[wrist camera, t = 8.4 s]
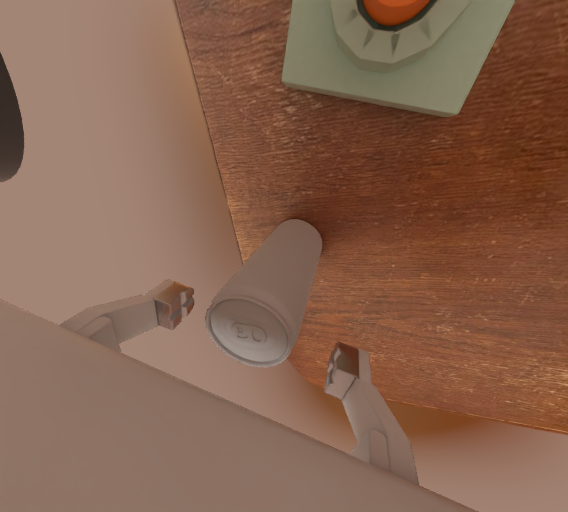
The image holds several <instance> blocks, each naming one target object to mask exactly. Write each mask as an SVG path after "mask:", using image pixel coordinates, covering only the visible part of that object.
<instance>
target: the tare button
mask: <svg viewBox="0 0 568 512" xmlns="http://www.w3.org/2000/svg"><path fill="white" fill-rule="evenodd" d="M362 1H363V5H364V8H365V10H366V12H367V13H368V15H369V16H370V17H371V18H372V19H373V20H374V21H375V22H377V23H379V24H381V25H385V26H394V25H399V24H402V23H404V22H407V21H408V20H410V19H412V18H413V17H415V16H416V15H417V14H418V13H419V12H421V11H422V10H423V9H424V8H425V6H426V5H427V4H428V3H429V2H430V0H362Z"/></svg>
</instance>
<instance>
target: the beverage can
mask: <svg viewBox="0 0 568 512" xmlns="http://www.w3.org/2000/svg"><path fill="white" fill-rule="evenodd" d="M321 251H322V239H321V236H320V234H319V232H318V231H317V230H316V229H315V228H314V227H313V226H312V225H311V224H309V223H307V222H305V221H303V220H299V219H290V220H287V221H284V222H283V223H281V224H280V225H279V226H278V227H277V228H276V229H275V230H274V231H273V232H272V233H271V234H270V236H269V237H268V238H267V239H266V240H265V241H264V242H263V243H262V244H261V246H260V247H259V248H258V249H257V250H256V251H255V252H254V253H253V254H252V255H251V257H250V258H249V259H248V260H247V261H246V262H245V263H244V264H243V265H242V267H241V268H240V269H239V270H238V271H237V272H236V273H235V274H234V276H232V278H231V279H230V280H229V281H228V282H227V283H226V284H225V285H224V286H223V288H222V289H221V290H220V291H219V292H218V294H217V295H216V296H215V297H214V299H213V300H212V304H211V305H210V307H209V308H208V309H207V313H206V316H205V323H206V328H207V330H208V333H209V335H210V337H211V339H212V340H213V341H214V343H215V344H216V345H217V346H218V347H219V348H220V349H221V350H222V351H223V352H224V353H226V354H227V355H228V356H230V357H231V358H233V359H235V360H237V361H239V362H241V363H244V364H247V365H250V366H256V367H272V366H275V365H278V364H280V363H281V362H283V361H284V360H286V358H287V357H288V355H289V354H290V352H291V349H292V348H293V346H294V345H295V343H296V341H297V338H298V334H299V330H300V327H301V323H302V320H303V316H304V312H305V309H306V305H307V302H308V298H309V294H310V291H311V287H312V284H313V280H314V276H315V273H316V269H317V266H318V262H319V258H320V255H321Z"/></svg>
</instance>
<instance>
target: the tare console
mask: <svg viewBox="0 0 568 512" xmlns="http://www.w3.org/2000/svg"><path fill="white" fill-rule="evenodd" d="M514 2H515V0H430V2H429V3H428V4H427V5H426V6H425V8H424V9H423V10H422V11H421V12H419V13H418V14H417V15H416V16H415V17H413V18H412V19H410V20H408V21H407V22H404V23H402V24H399V25H394V26H385V25H381V24H379V23H377V22H375V21H374V20H373V19H372V18H371V17H370V16H369V15H368V13H367V12H366V10H365V8H364V5H363V1H362V0H293V2H292V9H291V16H290V22H289V29H288V36H287V43H286V50H285V57H284V64H283V71H282V78H281V82H283V83H284V84H285V85H286V86H287V87H289V88H294V89H299V90H304V91H309V92H315V93H320V94H325V95H330V96H336V97H341V98H346V99H351V100H357V101H362V102H367V103H372V104H377V105H383V106H388V107H393V108H398V109H404V110H409V111H414V112H419V113H424V114H430V115H435V116H440V117H445V118H447V117H450V116H454V115H457V114H458V113H459V111H460V109H461V107H462V105H463V103H464V101H465V99H466V97H467V95H468V93H469V91H470V89H471V88H472V86H473V84H474V82H475V80H476V78H477V76H478V74H479V72H480V70H481V68H482V66H483V64H484V62H485V60H486V58H487V56H488V54H489V52H490V50H491V48H492V46H493V44H494V42H495V40H496V38H497V36H498V34H499V32H500V30H501V28H502V26H503V24H504V22H505V20H506V18H507V16H508V14H509V12H510V10H511V8H512V6H513V4H514Z"/></svg>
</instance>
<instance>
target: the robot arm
mask: <svg viewBox="0 0 568 512" xmlns="http://www.w3.org/2000/svg"><path fill="white" fill-rule="evenodd" d="M193 294H194V289H192V288H190V287H188V286H185V285H183V284H180V283H178V282H175V281H172V280H170V279H168V280H165V281H164V282H162V283H161V284H159V285H158V286H157V287H155V288H154V289H152V290H151V291H150V292H148V293H147V294H145V295H138V296H134V297H130V298H126V299H122V300H118V301H114V302H110V303H106V304H102V305H98V306H94V307H90V308H87V309H85V310H83V311H82V312H80V313H78V314H77V315H75V316H74V317H72V318H70V319H69V320H67V321H65V322H64V323H62V324H60V325H57V324H55V323H53V322H51V321H48V320H46V319H44V318H42V317H39V316H37V315H35V314H33V313H30V312H28V311H26V310H24V309H22V308H19V307H17V306H15V305H13V304H10V303H8V302H6V301H4V300H2V299H0V512H478V511H475V510H473V509H471V508H469V507H466V506H464V505H462V504H460V503H457V502H455V501H453V500H451V499H448V498H446V497H444V496H442V495H439V494H437V493H435V492H433V491H430V490H428V489H426V488H424V487H421V486H419V483H418V477H417V472H416V467H415V461H414V456H413V451H412V446H411V443H410V441H409V440H408V438H407V436H406V435H405V434H404V432H403V430H402V428H401V427H400V425H399V423H398V422H397V420H396V419H395V417H394V415H393V414H392V412H391V411H390V409H389V407H388V406H387V404H386V403H385V401H384V399H383V398H382V396H381V394H380V393H379V391H378V390H377V388H376V386H375V385H373V384H372V383H371V370H370V358H369V353H368V352H366V351H363V350H361V349H357V348H355V347H352V346H350V345H347V344H344V343H341V342H337V343H336V345H335V349H334V351H333V352H332V353H331V356H330V358H329V362H328V368H327V371H328V376H327V378H326V385H325V393H327V394H329V395H332V396H334V397H336V398H339V399H341V400H342V403H343V405H344V408H345V411H346V413H347V416H348V418H349V421H350V424H351V426H352V428H353V432H354V434H355V437H356V439H357V442H358V444H357V445H356V446H355V447H354V448H353V450H352V451H351V452H350V453H349V454H347V453H345V452H343V451H340V450H338V449H336V448H334V447H332V446H329V445H327V444H325V443H322V442H320V441H318V440H316V439H313V438H311V437H309V436H307V435H305V434H302V433H300V432H298V431H295V430H293V429H291V428H289V427H287V426H284V425H282V424H280V423H278V422H275V421H273V420H271V419H269V418H266V417H264V416H262V415H260V414H257V413H255V412H253V411H250V410H248V409H246V408H244V407H242V406H239V405H237V404H235V403H233V402H230V401H228V400H226V399H224V398H221V397H219V396H217V395H215V394H212V393H210V392H208V391H206V390H203V389H201V388H199V387H197V386H194V385H192V384H190V383H188V382H185V381H183V380H181V379H179V378H176V377H174V376H172V375H170V374H167V373H165V372H163V371H161V370H158V369H156V368H154V367H152V366H149V365H147V364H145V363H143V362H140V361H138V360H136V359H133V358H131V357H129V356H127V355H125V354H122V353H121V350H120V346H119V343H122V342H124V341H126V340H128V339H131V338H133V337H135V336H137V335H140V334H142V333H144V332H146V331H148V330H150V329H153V328H155V327H157V326H158V325H159V326H162V327H165V328H168V329H170V330H173V329H174V328H175V327H176V326H177V325H178V324H179V323H180V322H181V319H182V317H185V316H187V315H188V314H189V313H190V312H191V310H192V308H193V306H194V299H193V297H192V295H193Z"/></svg>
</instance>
